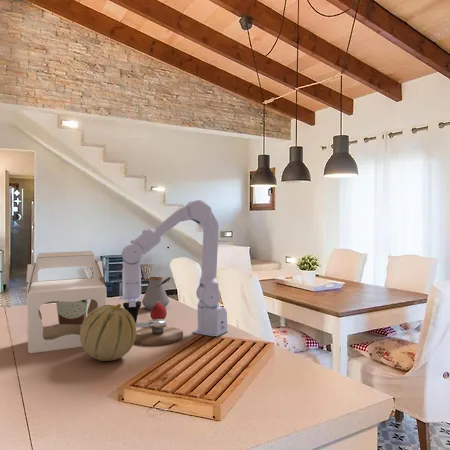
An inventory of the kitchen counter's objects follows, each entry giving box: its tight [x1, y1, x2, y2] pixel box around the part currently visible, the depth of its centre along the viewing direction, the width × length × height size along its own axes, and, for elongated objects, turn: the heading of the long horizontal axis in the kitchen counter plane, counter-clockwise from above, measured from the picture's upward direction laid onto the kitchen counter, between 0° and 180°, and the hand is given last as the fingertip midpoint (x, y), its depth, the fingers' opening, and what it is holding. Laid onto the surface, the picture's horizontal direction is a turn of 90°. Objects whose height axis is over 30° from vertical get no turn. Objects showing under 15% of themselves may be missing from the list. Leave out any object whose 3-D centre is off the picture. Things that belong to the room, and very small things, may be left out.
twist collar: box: [135, 318, 168, 329], centre depth 130 cm, size 14×6×2 cm, turn 101°
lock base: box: [134, 326, 184, 346], centre depth 131 cm, size 16×16×4 cm
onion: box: [149, 301, 167, 320], centre depth 149 cm, size 6×6×8 cm
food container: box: [54, 299, 90, 326], centre depth 151 cm, size 12×6×10 cm, turn 84°
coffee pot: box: [141, 276, 174, 311], centre depth 171 cm, size 21×12×15 cm, turn 32°
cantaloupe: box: [80, 303, 137, 362], centre depth 111 cm, size 15×15×15 cm
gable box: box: [25, 250, 108, 354], centre depth 127 cm, size 22×13×28 cm, turn 117°
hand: (132, 325), depth 131 cm, fingers closed
